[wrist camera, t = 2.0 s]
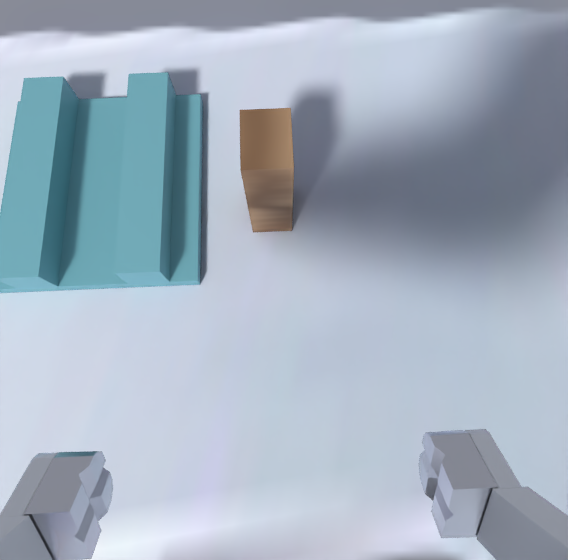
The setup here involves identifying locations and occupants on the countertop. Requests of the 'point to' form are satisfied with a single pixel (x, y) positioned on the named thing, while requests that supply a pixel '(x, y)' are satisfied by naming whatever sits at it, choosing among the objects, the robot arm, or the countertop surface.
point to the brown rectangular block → (267, 167)
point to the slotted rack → (102, 188)
